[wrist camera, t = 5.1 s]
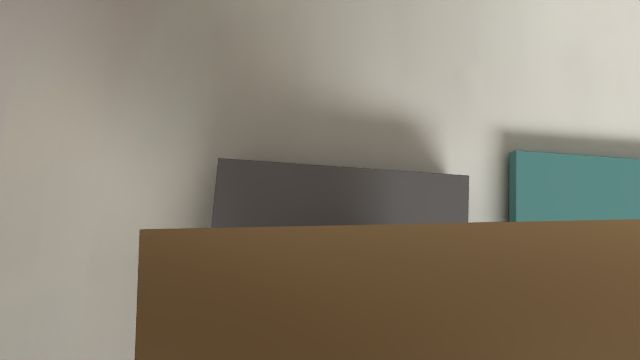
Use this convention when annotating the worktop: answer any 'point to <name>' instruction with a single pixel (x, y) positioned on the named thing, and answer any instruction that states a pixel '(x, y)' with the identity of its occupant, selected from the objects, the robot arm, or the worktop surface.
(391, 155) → the worktop surface
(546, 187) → the teal mat
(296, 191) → the charcoal board
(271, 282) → the oak block
